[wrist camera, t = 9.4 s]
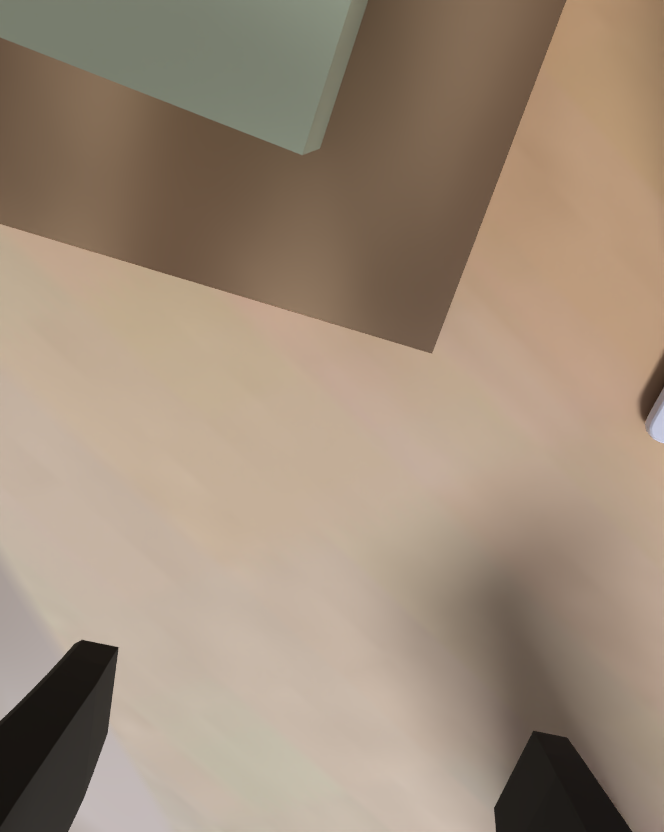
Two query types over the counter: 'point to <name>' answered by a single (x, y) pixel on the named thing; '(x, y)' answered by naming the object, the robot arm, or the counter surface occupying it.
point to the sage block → (207, 55)
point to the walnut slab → (291, 169)
